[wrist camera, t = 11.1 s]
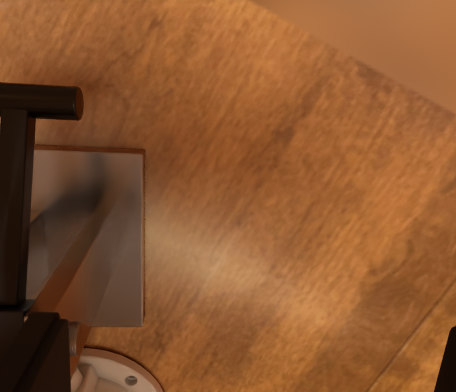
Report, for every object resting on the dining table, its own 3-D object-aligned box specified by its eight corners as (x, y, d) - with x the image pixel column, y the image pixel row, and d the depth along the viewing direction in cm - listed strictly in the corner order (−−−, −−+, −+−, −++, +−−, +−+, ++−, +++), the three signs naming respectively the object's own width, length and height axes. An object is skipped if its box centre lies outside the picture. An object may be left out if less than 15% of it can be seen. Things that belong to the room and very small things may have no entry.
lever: (-27, 89, 19) (-57, 70, 17) (87, 95, 20) (73, 78, 17) (-44, 363, 18) (-79, 384, 16) (74, 363, 19) (57, 384, 16)
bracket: (-4, 142, 26) (-182, 213, 14) (145, 149, 27) (104, 221, 14) (14, 313, 29) (-115, 491, 17) (145, 314, 30) (112, 485, 18)
